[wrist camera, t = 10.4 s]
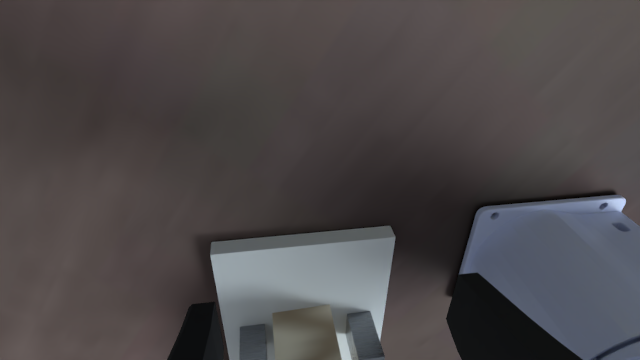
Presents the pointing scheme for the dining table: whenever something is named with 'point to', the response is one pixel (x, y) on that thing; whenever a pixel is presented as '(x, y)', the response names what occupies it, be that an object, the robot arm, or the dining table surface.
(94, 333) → the dining table surface
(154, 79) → the dining table surface
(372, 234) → the cradle
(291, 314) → the long beige block
